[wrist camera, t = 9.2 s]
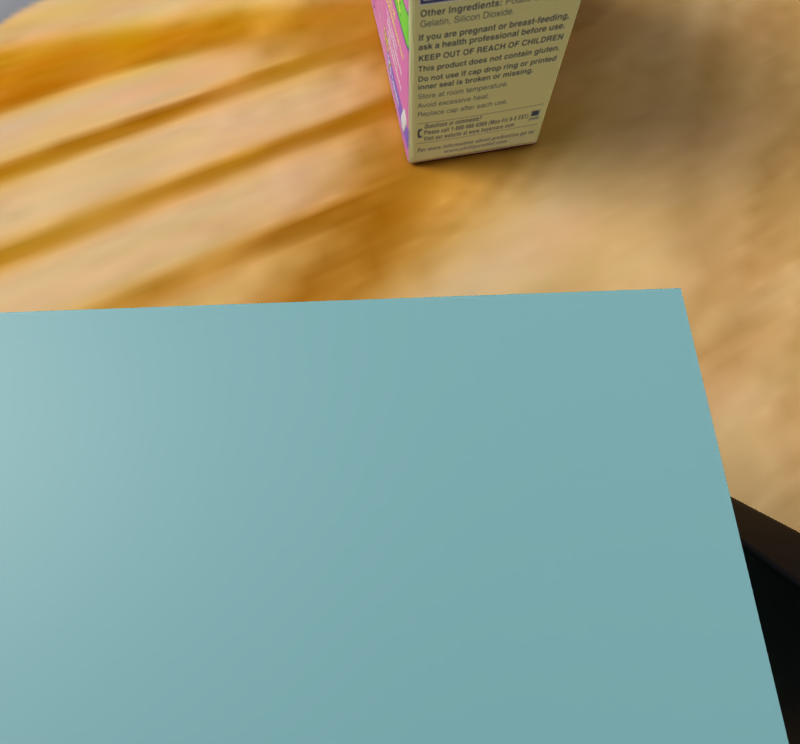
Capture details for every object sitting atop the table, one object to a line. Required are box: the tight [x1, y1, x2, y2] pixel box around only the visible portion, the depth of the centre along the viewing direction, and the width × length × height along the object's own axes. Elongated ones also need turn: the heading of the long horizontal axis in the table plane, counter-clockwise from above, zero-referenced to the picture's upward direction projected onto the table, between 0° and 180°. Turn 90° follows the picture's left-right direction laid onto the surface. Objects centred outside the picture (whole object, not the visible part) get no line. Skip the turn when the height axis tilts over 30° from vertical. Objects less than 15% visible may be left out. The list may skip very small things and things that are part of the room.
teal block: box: [0, 288, 789, 744], centre depth 9 cm, size 5×5×13 cm
